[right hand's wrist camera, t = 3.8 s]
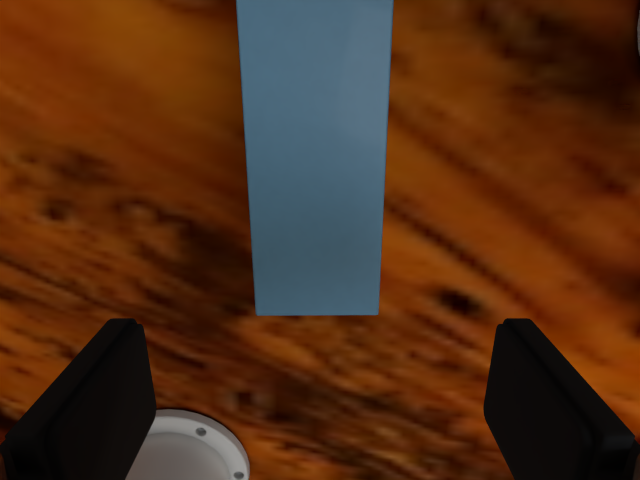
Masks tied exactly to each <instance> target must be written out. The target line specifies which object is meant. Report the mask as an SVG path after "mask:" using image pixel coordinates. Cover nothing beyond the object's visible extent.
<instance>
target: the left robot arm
mask: <svg viewBox="0 0 640 480" xmlns="http://www.w3.org/2000/svg"><path fill="white" fill-rule="evenodd" d="M637 33H638V51H639V55H640V12H639V19H638V26H637Z"/></svg>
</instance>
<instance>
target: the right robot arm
mask: <svg viewBox="0 0 640 480" xmlns="http://www.w3.org/2000/svg"><path fill="white" fill-rule="evenodd" d="M484 416H485V420H486V422H487V424H488V426H489V428H490V430H491V432H492V434H493V436H494V438H495V440H496V442H497V444H498V446H499V448H500V450H501V452H502V454H503V457H504V459H505V461H506V463H507V465H508V467H509V469H510V471H511V473H512V475H513V477H514V479H515V480H640V445H639V444H638V443H637V441H636V440H635V439H634V438H635V435H634V434H633V433H632V432H631V431H630V430H629V429H628V428H627V427H626V425H625V424H624V423H623V422H622V421H621V420H620V419H619V418H618V416H617V415H616V414H615V413H614V412H613V411H612V410H611V409H610V408H609V406H608V405H607V404H606V403H605V402H604V401H603V400H602V399H601V397H600V396H599V395H598V394H597V393H596V392H595V391H594V390H593V389H592V387H591V386H590V385H589V384H588V383H587V382H586V381H585V380H584V378H583V377H582V376H581V375H580V374H579V373H578V372H577V371H576V370H575V368H574V367H573V366H572V365H571V364H570V363H569V362H568V361H567V359H566V358H565V357H564V356H563V355H562V354H561V353H560V352H559V351H558V349H557V348H556V347H555V346H554V345H553V344H552V343H551V342H550V340H549V339H548V338H547V337H546V336H545V335H544V334H543V333H542V332H541V330H540V329H539V328H538V327H537V326H536V325H535V324H534V323H533V321H532V320H530V319H527V318H507V319H505V320H504V322H503V324H499V325H498V326H497V328H496V334H495V340H494V346H493V352H492V358H491V364H490V370H489V376H488V382H487V388H486V394H485V400H484ZM5 438H6V439H5V440H4V441H3V443H2V444H1V445H0V480H249V475H250V468H249V461H248V457H247V453H246V452H245V450H244V448H243V446H242V444H241V443H240V442H239V440H238V439H237V438H236V437H235V436H234V434H233V433H231V432H230V431H229V430H228V429H227V428H225V427H224V426H223V425H221V424H219V423H218V422H216V421H214V420H212V419H211V418H208V417H205V416H203V415H200V414H198V413H193V412H189V411H184V410H173V409H164V410H156V400H155V394H154V388H153V382H152V376H151V370H150V364H149V358H148V352H147V346H146V340H145V334H144V328H143V326H142V325H141V324H137V322H136V320H135V319H133V318H113V319H110V320H108V321H107V323H106V324H105V325H104V326H103V327H102V328H101V329H100V330H99V332H98V333H97V334H96V335H95V336H94V337H93V338H92V339H91V340H90V342H89V343H88V344H87V345H86V346H85V347H84V348H83V349H82V351H81V352H80V353H79V354H78V355H77V356H76V357H75V358H74V359H73V361H72V362H71V363H70V364H69V365H68V366H67V367H66V368H65V370H64V371H63V372H62V373H61V374H60V375H59V376H58V377H57V378H56V380H55V381H54V382H53V383H52V384H51V385H50V386H49V387H48V389H47V390H46V391H45V392H44V393H43V394H42V395H41V396H40V397H39V399H38V400H37V401H36V402H35V403H34V404H33V405H32V406H31V408H30V409H29V410H28V411H27V412H26V413H25V414H24V415H23V416H22V418H21V419H20V420H19V421H18V422H17V423H16V424H15V425H14V427H13V428H12V429H11V430H10V431H9V432H8V433H7V434H6V435H5Z"/></svg>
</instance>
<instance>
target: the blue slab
mask: <svg viewBox="0 0 640 480" xmlns="http://www.w3.org/2000/svg"><path fill="white" fill-rule="evenodd" d="M393 2H394V0H236V9H237V25H238V40H239V56H240V72H241V88H242V103H243V119H244V135H245V151H246V166H247V182H248V198H249V214H250V229H251V245H252V261H253V277H254V292H255V308H256V315H378V311H379V291H380V270H381V250H382V229H383V208H384V188H385V167H386V146H387V126H388V105H389V84H390V64H391V43H392V23H393Z"/></svg>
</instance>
